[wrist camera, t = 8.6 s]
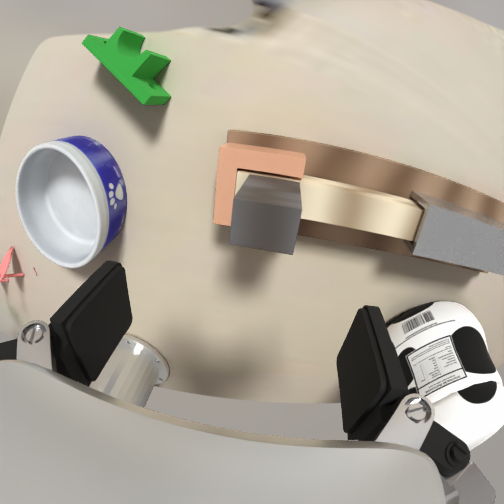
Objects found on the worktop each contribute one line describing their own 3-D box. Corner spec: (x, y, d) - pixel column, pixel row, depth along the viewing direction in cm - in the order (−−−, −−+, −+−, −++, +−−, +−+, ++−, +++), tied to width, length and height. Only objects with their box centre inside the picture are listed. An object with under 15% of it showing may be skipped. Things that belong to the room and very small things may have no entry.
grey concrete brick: (504, 222, 22) (523, 238, 19) (490, 257, 25) (507, 276, 21) (412, 190, 23) (430, 204, 20) (398, 234, 26) (412, 254, 22)
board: (506, 204, 23) (513, 208, 21) (482, 267, 27) (487, 273, 26) (231, 129, 25) (227, 130, 23) (223, 216, 29) (219, 221, 28)
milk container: (422, 380, 38) (443, 468, 22) (342, 364, 37) (349, 477, 22) (487, 306, 30) (538, 398, 14) (410, 272, 29) (470, 399, 13)
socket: (304, 153, 23) (306, 159, 21) (291, 223, 27) (291, 236, 24) (227, 142, 24) (219, 146, 21) (221, 211, 27) (213, 223, 25)
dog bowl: (148, 231, 31) (122, 256, 26) (72, 256, 35) (47, 277, 30) (103, 112, 25) (68, 117, 20) (33, 163, 29) (3, 176, 24)
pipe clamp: (190, 78, 23) (172, 73, 19) (165, 104, 24) (143, 105, 20) (127, 22, 20) (103, 14, 16) (106, 47, 21) (80, 43, 17)
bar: (440, 208, 23) (490, 253, 15) (431, 235, 25) (474, 287, 16) (243, 165, 24) (216, 196, 16) (239, 196, 26) (213, 241, 18)
